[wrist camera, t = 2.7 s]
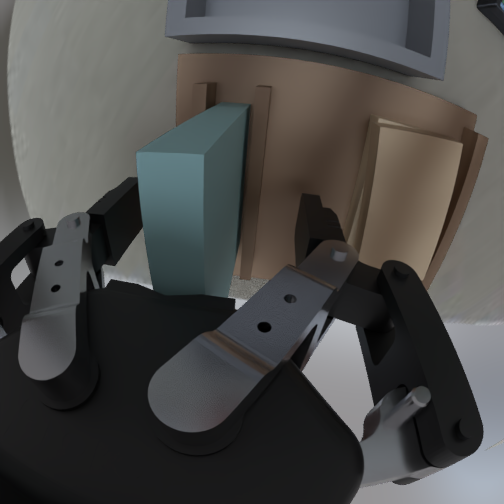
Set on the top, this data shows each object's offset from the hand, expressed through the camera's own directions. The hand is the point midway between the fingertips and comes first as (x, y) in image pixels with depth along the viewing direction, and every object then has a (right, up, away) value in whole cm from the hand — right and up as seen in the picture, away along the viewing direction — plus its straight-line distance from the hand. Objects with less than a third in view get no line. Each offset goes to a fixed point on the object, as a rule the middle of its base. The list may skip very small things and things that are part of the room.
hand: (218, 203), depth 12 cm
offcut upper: (+9, 0, +1) cm, 9 cm away
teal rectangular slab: (0, +2, +2) cm, 3 cm away
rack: (+5, +2, +3) cm, 7 cm away
